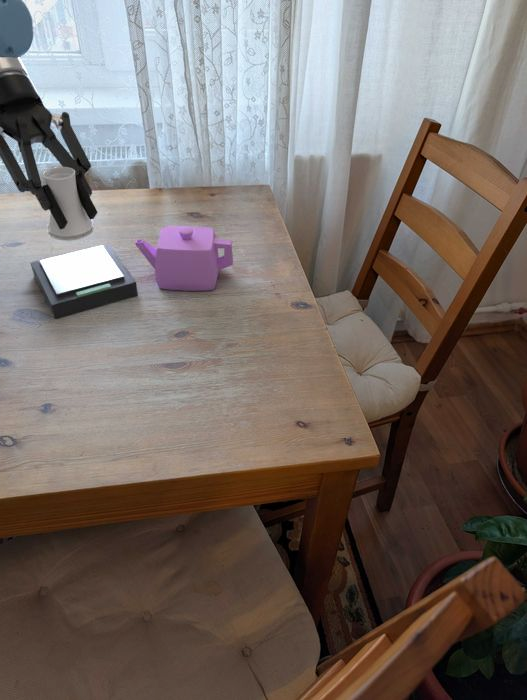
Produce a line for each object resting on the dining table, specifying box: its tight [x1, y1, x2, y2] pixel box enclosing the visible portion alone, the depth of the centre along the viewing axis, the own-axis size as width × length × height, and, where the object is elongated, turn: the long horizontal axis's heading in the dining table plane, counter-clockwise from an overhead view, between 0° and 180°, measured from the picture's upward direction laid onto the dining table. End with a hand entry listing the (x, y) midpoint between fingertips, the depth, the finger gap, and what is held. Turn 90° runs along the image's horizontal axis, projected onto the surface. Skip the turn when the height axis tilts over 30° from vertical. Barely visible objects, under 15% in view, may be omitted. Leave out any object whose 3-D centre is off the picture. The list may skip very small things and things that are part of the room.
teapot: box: [134, 225, 234, 292], centre depth 98 cm, size 18×10×10 cm, turn 91°
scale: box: [30, 243, 139, 320], centre depth 97 cm, size 15×15×4 cm
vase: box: [42, 166, 95, 242], centre depth 86 cm, size 8×8×10 cm
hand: (78, 220), depth 85 cm, fingers closed on vase, 5 cm apart
